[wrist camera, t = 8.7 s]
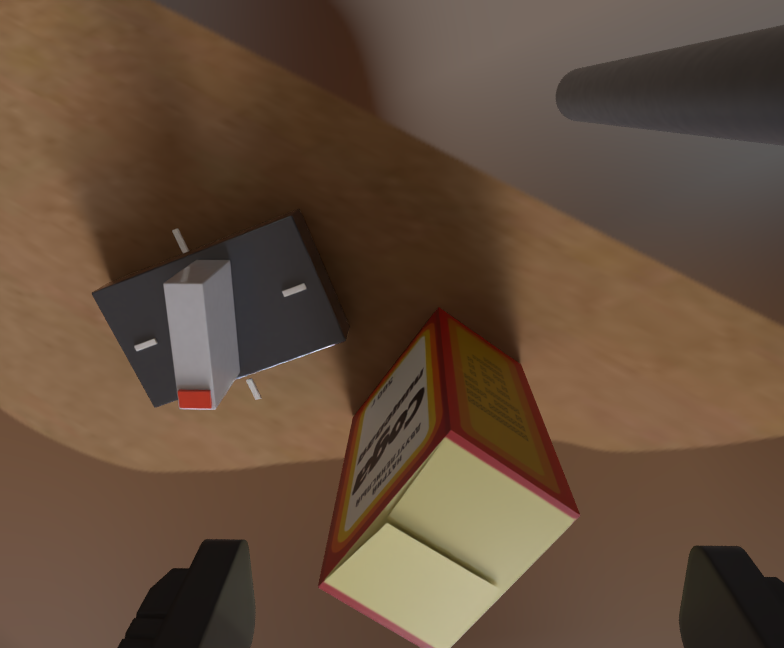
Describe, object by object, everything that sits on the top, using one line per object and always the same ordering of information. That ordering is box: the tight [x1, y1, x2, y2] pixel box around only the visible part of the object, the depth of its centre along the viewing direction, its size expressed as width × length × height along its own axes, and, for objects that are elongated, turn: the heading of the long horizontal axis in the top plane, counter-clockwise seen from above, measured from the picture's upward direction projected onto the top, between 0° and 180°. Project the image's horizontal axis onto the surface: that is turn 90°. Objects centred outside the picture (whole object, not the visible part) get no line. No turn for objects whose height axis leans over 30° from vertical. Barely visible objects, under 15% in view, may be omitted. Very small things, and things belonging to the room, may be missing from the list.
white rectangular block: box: [163, 260, 240, 410], centre depth 35 cm, size 7×2×5 cm, turn 0°
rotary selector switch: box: [92, 209, 350, 407], centre depth 39 cm, size 13×11×3 cm
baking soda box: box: [318, 307, 580, 648], centre depth 34 cm, size 10×6×16 cm
